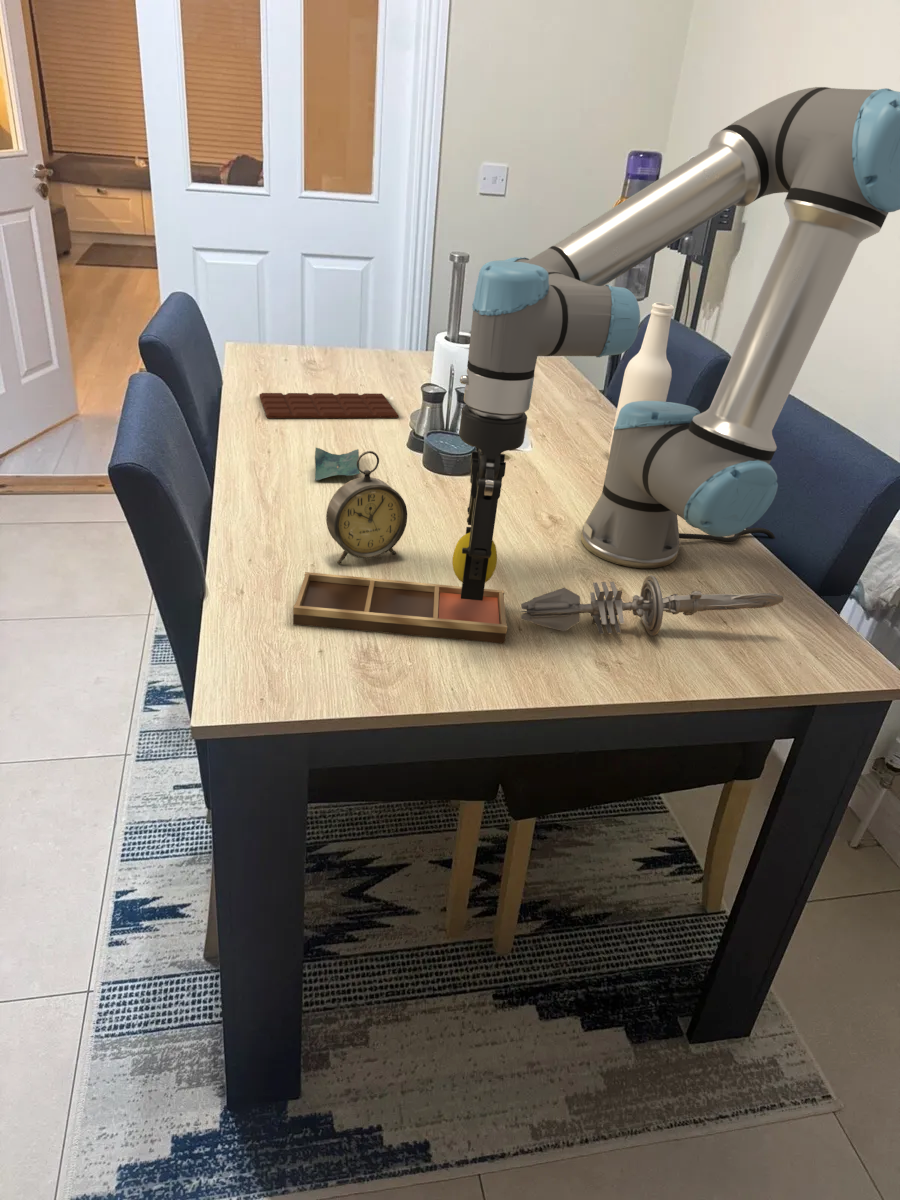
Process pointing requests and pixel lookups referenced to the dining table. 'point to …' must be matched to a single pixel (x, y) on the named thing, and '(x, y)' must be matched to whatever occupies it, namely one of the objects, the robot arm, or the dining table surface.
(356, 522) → the alarm clock
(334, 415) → the chocolate bar
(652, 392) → the alcohol
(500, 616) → the wooden compartment tray
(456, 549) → the lemon
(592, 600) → the spaceship
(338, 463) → the terrain model
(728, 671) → the dining table surface
